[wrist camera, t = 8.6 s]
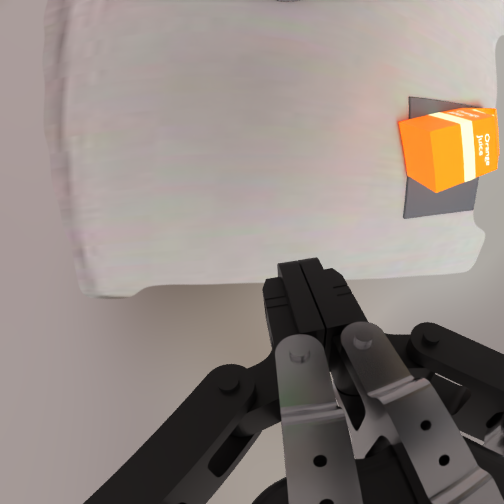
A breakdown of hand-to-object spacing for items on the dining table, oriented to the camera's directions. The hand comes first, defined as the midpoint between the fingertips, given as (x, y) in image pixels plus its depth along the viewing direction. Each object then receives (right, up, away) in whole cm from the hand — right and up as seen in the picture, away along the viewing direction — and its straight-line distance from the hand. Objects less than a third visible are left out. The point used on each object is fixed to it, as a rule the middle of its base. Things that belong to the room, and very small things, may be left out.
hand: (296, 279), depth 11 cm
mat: (+31, +17, +28) cm, 45 cm away
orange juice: (+21, +14, +23) cm, 34 cm away
